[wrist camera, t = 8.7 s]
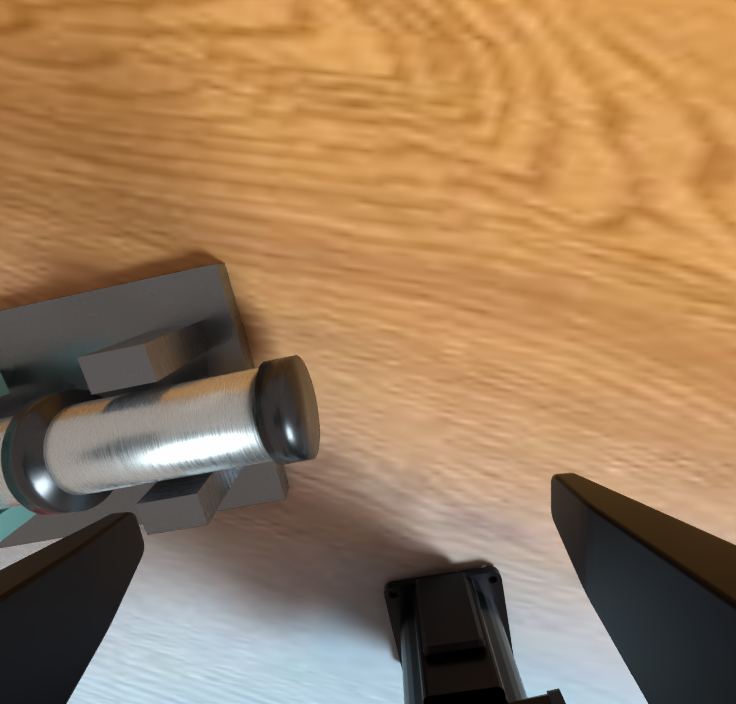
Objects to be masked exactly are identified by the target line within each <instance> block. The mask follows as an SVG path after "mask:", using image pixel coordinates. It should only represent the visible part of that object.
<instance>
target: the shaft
mask: <svg viewBox="0 0 736 704" xmlns="http://www.w3.org/2000/svg"><path fill="white" fill-rule="evenodd" d="M319 442H320V425H319V415H318V407H317V401H316V396H315V392H314V388H313V384H312V381H311V378H310V375H309V372H308V370H307V367H306V365H305V363H304V362H303V360H302V359H301V358H300V357H299V356H297V355H295V356H289V357H284V358H279V359H274V360H269V361H265V362H263V363H262V364H261V365H260V367H259V368H255V369H250V370H245V371H240V372H235V373H230V374H225V375H220V376H215V377H209V378H204V379H199V380H194V381H189V382H184V383H179V384H174V385H169V386H164V387H159V388H153V389H148V390H143V391H138V392H133V393H128V394H123V395H118V396H113V397H108V398H102V397H101V396H99V395H97V394H91V392H90V391H88V390H84V389H71V390H66V391H61V392H56V393H51V394H46V395H42V396H39V397H36V398H34V399H32V400H31V401H29V402H28V403H26V404H25V405H24V406H23V407H21V408H20V409H19V410H18V411H17V413H16V414H15V415H14V416H11V417H6V418H1V419H0V510H1V509H6V508H12V507H18V506H23V507H25V508H26V509H28V510H29V511H32V512H34V513H36V514H40V515H44V516H58V515H63V514H69V513H75V512H80V511H85V510H89V509H91V508H94V507H95V506H97V505H99V504H100V503H102V502H103V501H104V500H105V499H106V498H107V497H108V496H109V495H110V494H111V492H112V491H113V490H114V489H118V488H124V487H130V486H135V485H141V484H146V483H152V482H158V481H163V480H169V479H174V478H180V477H185V476H191V475H197V474H202V473H208V472H213V471H219V470H225V469H230V468H236V467H241V466H247V465H253V464H258V463H264V462H269V461H274V462H275V463H277V464H279V465H284V464H290V463H295V462H301V461H306V460H312V459H315V458H316V456H317V454H318V450H319Z"/></svg>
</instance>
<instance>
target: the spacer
mask: <svg viewBox="0 0 736 704" xmlns="http://www.w3.org/2000/svg"><path fill="white" fill-rule="evenodd" d="M9 393H10V392H9V390H8V388H7V385H6V383H5V381H4V379H3V377H2V374H1V373H0V397H1V396H4V395H6V394H9ZM34 515H36V513H34V512H32V511H29V510H28V509H26V508H25V507H23V506H18V507H12V508H6V509H1V510H0V542H1V541H2V540H3V539H5V538H6V537H7V536H8V535H10V534H11V533H12V532H14V531H15V530H16V529H18V528H19V527H20V526H21V525H23V524H24V523H25V522H27V521H28V520H29V519H31V518H32V517H33V516H34Z"/></svg>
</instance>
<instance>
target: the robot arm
mask: <svg viewBox="0 0 736 704" xmlns="http://www.w3.org/2000/svg"><path fill="white" fill-rule="evenodd" d="M551 513H552V517H553V521H554V523H555V525H556V528H557V530H558V532H559V534H560V537H561V539H562V541H563V543H564V546H565V548H566V550H567V552H568V555H569V557H570V559H571V562H572V564H573V566H574V568H575V571H576V573H577V575H578V577H579V580H580V582H581V584H582V586H583V588H584V590H585V592H586V594H587V596H588V598H589V600H590V602H591V604H592V605H593V607H594V609H595V611H596V612H597V614H598V616H599V618H600V619H601V621H602V623H603V625H604V626H605V628H606V630H607V632H608V633H609V635H610V637H611V639H612V641H613V642H614V644H615V646H616V648H617V649H618V651H619V653H620V655H621V656H622V658H623V660H624V662H625V663H626V665H627V667H628V669H629V670H630V672H631V674H632V676H633V677H634V679H635V681H636V683H637V684H638V686H639V688H640V690H641V691H642V693H643V695H644V697H645V698H646V700H647V702H648V704H736V545H734V544H732V543H730V542H727V541H725V540H723V539H721V538H718V537H716V536H714V535H712V534H709V533H707V532H705V531H703V530H700V529H698V528H696V527H694V526H691V525H689V524H687V523H685V522H682V521H680V520H678V519H676V518H673V517H671V516H669V515H667V514H664V513H662V512H660V511H658V510H655V509H653V508H651V507H649V506H647V505H644V504H642V503H640V502H638V501H635V500H633V499H631V498H629V497H626V496H624V495H622V494H620V493H617V492H615V491H613V490H611V489H608V488H606V487H604V486H602V485H599V484H597V483H595V482H593V481H590V480H588V479H586V478H584V477H581V476H579V475H577V474H574V473H563V474H555V475H553V477H552V479H551ZM143 552H144V541H143V538H142V534H141V531H140V527H139V524H138V520H137V517H136V515H135V514H134V513H133V512H130V511H127V512H116V513H112V514H109V515H108V516H106V517H104V518H102V519H100V520H98V521H96V522H94V523H92V524H90V525H88V526H86V527H84V528H82V529H80V530H78V531H76V532H74V533H72V534H70V535H68V536H66V537H64V538H63V539H61V540H59V541H57V542H55V543H53V544H51V545H49V546H47V547H45V548H43V549H41V550H39V551H37V552H35V553H33V554H31V555H29V556H27V557H25V558H23V559H21V560H19V561H17V562H16V563H14V564H12V565H10V566H8V567H6V568H4V569H2V570H0V704H67V702H68V700H69V698H70V697H71V695H72V693H73V691H74V690H75V688H76V686H77V684H78V682H79V681H80V679H81V677H82V675H83V674H84V672H85V670H86V668H87V666H88V665H89V663H90V661H91V659H92V658H93V656H94V654H95V652H96V651H97V649H98V647H99V645H100V643H101V642H102V640H103V638H104V636H105V634H106V632H107V631H108V629H109V627H110V625H111V623H112V621H113V619H114V616H115V614H116V612H117V610H118V608H119V606H120V604H121V601H122V599H123V597H124V595H125V593H126V590H127V588H128V586H129V584H130V582H131V580H132V577H133V575H134V573H135V571H136V569H137V566H138V564H139V562H140V560H141V558H142V555H143ZM490 576H494V577H492V578H489V577H490ZM384 591H385V600H386V604H387V608H388V612H389V616H390V621H391V625H392V629H393V633H394V637H395V641H396V646H397V650H398V654H399V658H400V662H401V666H402V670H403V687H404V703H405V704H566V703H565V701H564V698H563V696H562V694H561V692H560V690H559V689H555V690H550V691H547V694H544V695H540V696H535V697H530V698H527V696H526V693H525V690H524V687H523V684H522V681H521V678H520V675H519V672H518V669H517V666H516V663H515V660H514V657H513V650H512V643H511V637H510V630H509V624H508V617H507V610H506V604H505V597H504V590H503V584H502V578H501V575H500V573H499V570H498V569H497V568H495V567H484V568H477V569H471V570H464V571H458V572H451V573H445V574H438V575H431V576H425V577H418V578H412V579H405V580H399V581H392V582H389V583H387V584H386V585H385V587H384ZM391 591H396V592H391Z"/></svg>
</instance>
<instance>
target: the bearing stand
mask: <svg viewBox="0 0 736 704" xmlns="http://www.w3.org/2000/svg"><path fill="white" fill-rule="evenodd" d="M250 369H255V367H254V364H253V360H252V357H251V353H250V350H249V346H248V343H247V340H246V336H245V333H244V329H243V326H242V322H241V319H240V315H239V312H238V308H237V305H236V301H235V298H234V294H233V291H232V288H231V284H230V281H229V277H228V274H227V270H226V267H225V263H218V264H212V265H208V266H203V267H199V268H194V269H189V270H185V271H180V272H176V273H171V274H166V275H162V276H157V277H153V278H148V279H143V280H139V281H134V282H130V283H125V284H121V285H116V286H111V287H107V288H102V289H98V290H93V291H88V292H84V293H79V294H75V295H70V296H65V297H61V298H56V299H52V300H47V301H42V302H38V303H33V304H29V305H24V306H19V307H15V308H10V309H6V310H1V311H0V373H1V374H2V377H3V379H4V381H5V383H6V385H7V388H8V390H9V392H10V393H9V394H6V395H4V396H1V397H0V419H1V418H6V417H11V416H14V415H15V414H16V413H17V411H18V410H19V409H20V408H21V407H23V406H24V405H25V404H26V403H28V402H29V401H31V400H32V399H34V398H36V397H39V396H42V395H46V394H51V393H56V392H61V391H66V390H71V389H84V390H88V391H90V392H91V394H97V395H99V396H101V397H102V398H108V397H113V396H118V395H123V394H128V393H133V392H138V391H143V390H148V389H153V388H159V387H164V386H169V385H174V384H179V383H184V382H189V381H194V380H199V379H204V378H209V377H215V376H220V375H225V374H230V373H235V372H240V371H245V370H250ZM288 490H289V485H288V482H287V478H286V475H285V471H284V468H283V465H279V464H277V463H275V462H274V461H269V462H264V463H258V464H253V465H247V466H241V467H236V468H230V469H225V470H219V471H213V472H208V473H202V474H197V475H191V476H185V477H180V478H174V479H169V480H163V481H158V482H152V483H146V484H141V485H135V486H130V487H124V488H118V489H114V490H113V491H112V492H111V494H110V495H109V496H108V497H107V498H106V499H105V500H104V501H103V502H102V503H100V504H99V505H97V506H95V507H94V508H91V509H89V510H85V511H80V512H75V513H69V514H63V515H58V516H44V515H40V514H36V515H34V516H33V517H32V518H31V519H29V520H28V521H27V522H25V523H24V524H23V525H21V526H20V527H19V528H18V529H16V530H15V531H14V532H12V533H11V534H10V535H8V536H7V537H6V538H5V539H3V540H2V541H1V542H0V548H4V547H10V546H16V545H21V544H27V543H33V542H39V541H45V540H51V539H56V538H62V537H66V536H68V535H70V534H72V533H74V532H76V531H78V530H80V529H82V528H84V527H86V526H88V525H90V524H92V523H94V522H96V521H98V520H100V519H102V518H104V517H106V516H108V515H109V514H112V513H116V512H127V511H130V512H133V513H134V514H135V515H136V517H137V520H138V524H143V525H144V527H145V530H146V532H147V535H150V534H156V533H162V532H168V531H174V530H179V529H185V528H191V527H197V526H203V525H208V523H209V522H210V520H211V519H212V517H213V515H214V514H215V512H216V511H220V510H226V509H232V508H238V507H243V506H249V505H255V504H261V503H267V502H273V501H278V500H284V499H285V498H286V496H287V493H288Z"/></svg>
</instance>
